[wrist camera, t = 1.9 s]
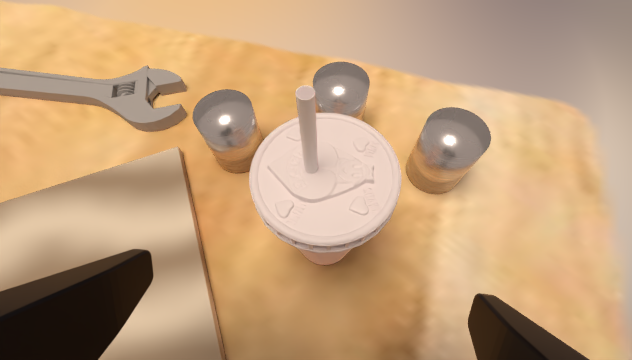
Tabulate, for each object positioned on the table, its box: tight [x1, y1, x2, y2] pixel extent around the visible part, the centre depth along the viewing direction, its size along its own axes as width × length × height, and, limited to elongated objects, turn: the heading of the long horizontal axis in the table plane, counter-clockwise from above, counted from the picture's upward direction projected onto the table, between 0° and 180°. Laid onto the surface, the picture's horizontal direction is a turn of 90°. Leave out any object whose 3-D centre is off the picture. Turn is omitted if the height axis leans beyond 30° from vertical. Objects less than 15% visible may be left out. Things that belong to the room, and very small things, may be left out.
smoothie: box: [249, 86, 401, 265], centre depth 14 cm, size 6×6×14 cm
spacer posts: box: [193, 62, 491, 194], centre depth 22 cm, size 8×19×5 cm, turn 83°
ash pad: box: [0, 147, 226, 360], centre depth 19 cm, size 16×16×1 cm
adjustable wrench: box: [0, 65, 187, 132], centre depth 28 cm, size 25×6×2 cm, turn 76°
